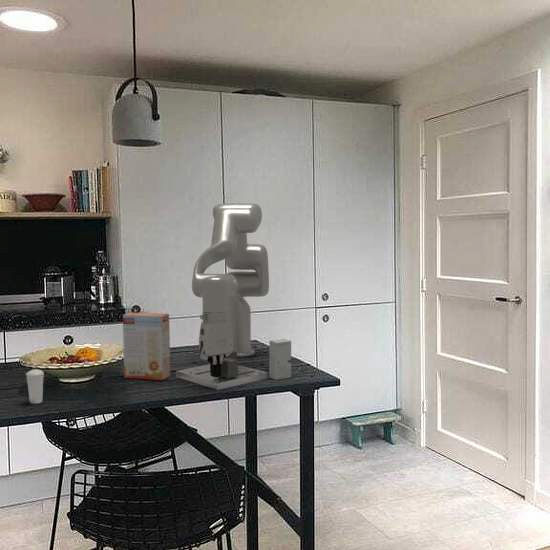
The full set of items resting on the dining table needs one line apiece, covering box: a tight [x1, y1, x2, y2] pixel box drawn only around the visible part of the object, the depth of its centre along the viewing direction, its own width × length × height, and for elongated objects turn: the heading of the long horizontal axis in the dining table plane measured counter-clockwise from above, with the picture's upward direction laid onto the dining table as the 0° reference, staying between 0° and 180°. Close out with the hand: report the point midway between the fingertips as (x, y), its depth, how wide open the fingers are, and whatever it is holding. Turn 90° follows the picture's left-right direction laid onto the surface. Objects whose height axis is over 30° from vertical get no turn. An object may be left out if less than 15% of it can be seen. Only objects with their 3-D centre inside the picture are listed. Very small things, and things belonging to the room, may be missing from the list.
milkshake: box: [25, 368, 45, 405], centre depth 171 cm, size 4×5×10 cm
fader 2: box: [221, 358, 239, 378], centre depth 191 cm, size 5×4×5 cm
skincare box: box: [268, 338, 292, 381], centre depth 198 cm, size 6×4×12 cm
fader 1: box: [225, 351, 238, 360], centre depth 204 cm, size 5×4×5 cm
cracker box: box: [122, 312, 171, 381], centre depth 199 cm, size 14×6×21 cm, turn 72°
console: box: [175, 363, 268, 391], centre depth 199 cm, size 22×20×2 cm
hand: (215, 376), depth 188 cm, fingers closed
